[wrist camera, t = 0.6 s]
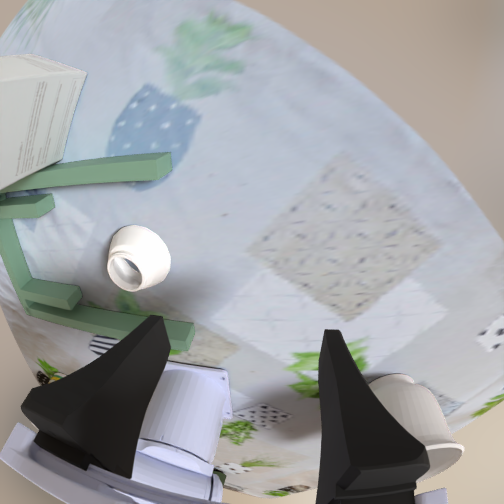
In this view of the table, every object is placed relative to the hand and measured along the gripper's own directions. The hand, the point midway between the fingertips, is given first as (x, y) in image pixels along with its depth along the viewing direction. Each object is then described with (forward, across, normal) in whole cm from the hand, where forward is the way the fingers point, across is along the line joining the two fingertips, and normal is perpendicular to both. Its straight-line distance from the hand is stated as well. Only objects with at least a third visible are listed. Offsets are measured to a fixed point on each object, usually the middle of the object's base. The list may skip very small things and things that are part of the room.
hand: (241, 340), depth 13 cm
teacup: (+9, -13, +17) cm, 23 cm away
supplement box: (+9, +16, -12) cm, 22 cm away
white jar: (+9, +9, +1) cm, 13 cm away
